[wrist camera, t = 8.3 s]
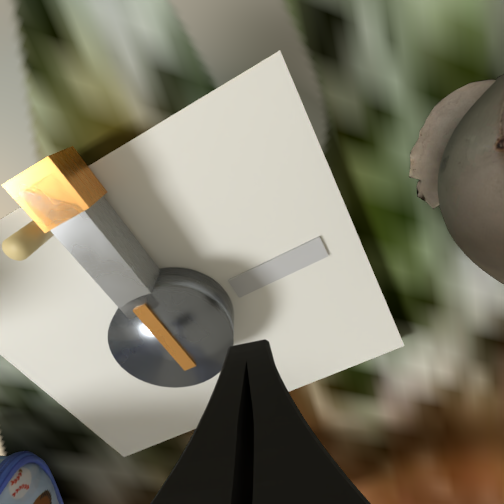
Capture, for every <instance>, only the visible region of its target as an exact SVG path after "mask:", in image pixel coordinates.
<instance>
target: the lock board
mask: <svg viewBox="0 0 504 504" xmlns="http://www.w3.org/2000/svg"><path fill="white" fill-rule="evenodd" d="M88 167H89V168H90V170H91V171H92V172H93V174H94V175H95V176H96V178H97V179H98V180H99V182H100V183H101V184H102V185H103V187H104V188H105V189H106V191H107V193H106V194H105V195H104V197H105V198H106V200H107V201H108V202H109V204H110V205H111V206H112V207H113V209H114V210H115V211H116V213H117V214H118V215H119V217H120V218H121V219H122V220H123V222H124V223H125V224H126V226H127V227H128V228H129V230H130V231H131V232H132V234H133V235H134V236H135V237H136V239H137V240H138V241H139V243H140V244H141V245H142V247H143V248H144V249H145V251H146V252H147V253H148V254H149V256H150V257H151V258H152V260H153V261H154V262H155V264H156V265H157V266H158V268H159V269H161V268H167V267H180V268H187V269H192V270H195V271H198V272H201V273H203V274H205V275H207V276H209V277H211V278H212V279H214V280H215V281H216V282H218V283H219V284H220V285H221V286H222V287H223V289H224V290H225V291H226V292H227V294H228V296H229V297H230V300H231V302H232V305H233V310H234V345H233V346H235V345H239V344H244V343H249V342H254V341H259V340H264V339H266V340H267V341H269V343H270V347H271V351H272V355H273V358H274V362H275V365H276V368H277V370H278V372H279V374H280V377H281V379H282V381H283V383H284V384H285V386H286V388H287V390H288V392H289V391H292V390H294V389H297V388H299V387H302V386H304V385H307V384H309V383H312V382H314V381H317V380H319V379H322V378H325V377H327V376H330V375H332V374H335V373H337V372H340V371H342V370H345V369H347V368H350V367H352V366H355V365H357V364H360V363H362V362H365V361H367V360H370V359H372V358H375V357H377V356H380V355H382V354H385V353H387V352H390V351H392V350H395V349H398V348H400V347H403V346H404V344H403V341H402V339H401V337H400V334H399V332H398V329H397V327H396V325H395V322H394V320H393V318H392V315H391V313H390V310H389V308H388V306H387V303H386V301H385V298H384V296H383V294H382V291H381V289H380V287H379V284H378V282H377V279H376V277H375V275H374V272H373V270H372V268H371V265H370V263H369V260H368V258H367V256H366V253H365V251H364V249H363V246H362V244H361V241H360V239H359V237H358V234H357V232H356V230H355V227H354V225H353V222H352V220H351V218H350V215H349V213H348V210H347V208H346V206H345V203H344V201H343V199H342V196H341V194H340V191H339V189H338V187H337V184H336V182H335V180H334V177H333V175H332V172H331V170H330V168H329V165H328V163H327V161H326V158H325V156H324V153H323V151H322V149H321V146H320V144H319V142H318V139H317V137H316V135H315V132H314V130H313V127H312V125H311V123H310V120H309V118H308V115H307V113H306V111H305V108H304V106H303V103H302V101H301V99H300V96H299V94H298V92H297V89H296V87H295V84H294V82H293V80H292V77H291V75H290V73H289V70H288V68H287V66H286V63H285V61H284V58H283V56H282V54H281V51H278V52H277V53H275V54H273V55H272V56H270V57H268V58H267V59H265V60H263V61H262V62H260V63H259V64H257V65H255V66H253V67H252V68H250V69H248V70H247V71H245V72H244V73H242V74H240V75H238V76H237V77H236V78H234V79H232V80H230V81H229V82H227V83H225V84H224V85H222V86H220V87H219V88H217V89H215V90H214V91H212V92H210V93H209V94H207V95H205V96H204V97H202V98H200V99H199V100H197V101H195V102H194V103H192V104H190V105H189V106H187V107H185V108H184V109H182V110H180V111H179V112H177V113H175V114H174V115H172V116H170V117H169V118H167V119H166V120H164V121H162V122H161V123H159V124H157V125H156V126H154V127H152V128H151V129H149V130H147V131H146V132H144V133H142V134H141V135H139V136H137V137H136V138H134V139H132V140H131V141H129V142H127V143H126V144H124V145H122V146H121V147H119V148H117V149H116V150H114V151H112V152H111V153H109V154H108V155H106V156H104V157H103V158H101V159H99V160H98V161H96V162H94V163H93V164H91V165H89V166H88ZM117 309H118V306H117V305H116V304H115V303H114V302H113V301H112V300H111V298H110V297H109V296H108V295H107V294H106V293H105V292H104V291H103V289H102V288H101V287H100V286H99V285H98V284H97V283H96V282H95V281H94V279H93V278H92V277H91V276H90V275H89V274H88V273H87V272H86V270H85V269H84V268H83V267H82V266H81V265H80V264H79V263H78V261H77V260H76V259H75V258H74V257H73V256H72V255H71V254H70V252H69V251H68V250H67V249H66V248H65V247H64V246H63V245H62V243H61V242H60V241H59V240H58V239H57V238H56V237H55V236H54V234H53V233H52V232H51V231H48V232H46V233H44V232H43V231H42V229H41V228H40V227H39V226H38V225H37V224H36V223H35V222H34V221H33V219H32V218H31V217H30V216H29V215H28V214H27V213H26V212H25V211H24V210H23V208H22V207H20V208H18V209H17V210H15V211H13V212H11V213H10V214H8V215H6V216H5V217H3V218H1V219H0V355H2V356H3V357H4V358H5V359H6V360H8V361H9V362H10V363H11V364H12V365H14V366H15V367H16V368H17V369H18V370H20V371H21V372H22V373H23V374H24V375H26V376H27V377H28V378H29V379H30V380H32V381H33V382H34V383H35V384H36V385H38V386H39V387H40V388H41V389H42V390H44V391H45V392H46V393H47V394H49V395H50V396H51V397H52V398H53V399H55V400H56V401H57V402H58V403H59V404H61V405H62V406H63V407H64V408H65V409H67V410H68V411H69V412H70V413H71V414H73V415H74V416H75V417H76V418H77V419H79V420H80V421H81V422H82V423H83V424H85V425H86V426H87V427H88V428H89V429H91V430H92V431H93V432H94V433H95V434H97V435H98V436H99V437H100V438H101V439H103V440H104V441H105V442H106V443H107V444H109V445H110V446H111V447H112V448H113V449H115V450H116V451H117V452H118V453H120V454H121V455H122V456H123V457H126V456H128V455H131V454H133V453H136V452H138V451H141V450H143V449H146V448H148V447H151V446H153V445H156V444H158V443H161V442H163V441H166V440H168V439H171V438H173V437H176V436H179V435H181V434H184V433H186V432H189V431H191V430H194V429H196V427H197V425H198V423H199V421H200V419H201V417H202V415H203V413H204V411H205V409H206V407H207V404H208V402H209V400H210V397H211V395H212V392H213V390H214V388H215V385H216V383H217V380H218V377H219V375H220V372H219V373H218V374H217V375H216V376H214V377H213V378H211V379H209V380H207V381H205V382H203V383H200V384H197V385H193V386H188V387H178V388H172V387H161V386H157V385H152V384H149V383H146V382H144V381H142V380H139V379H137V378H136V377H134V376H132V375H131V374H129V373H128V372H126V371H125V370H124V369H123V368H122V367H121V366H120V365H119V364H118V363H117V361H116V360H115V358H114V357H113V355H112V353H111V351H110V348H109V344H108V329H109V325H110V323H111V320H112V318H113V316H114V314H115V312H116V310H117Z"/></svg>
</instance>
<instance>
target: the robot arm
mask: <svg viewBox="0 0 504 504" xmlns="http://www.w3.org/2000/svg"><path fill="white" fill-rule="evenodd" d="M150 504H370V502H369V501H368V500H367V499H366V498H365V497H364V496H363V494H362V493H361V492H360V491H359V490H358V489H357V488H356V486H355V485H354V484H353V483H352V482H351V481H350V479H349V478H348V477H347V476H346V474H345V473H344V472H343V471H342V469H341V468H340V467H339V466H338V464H337V463H336V462H335V461H334V459H333V458H332V457H331V456H330V454H329V453H328V452H327V450H326V449H325V448H324V446H323V445H322V444H321V442H320V441H319V439H318V438H317V437H316V435H315V434H314V432H313V431H312V429H311V428H310V427H309V425H308V424H307V422H306V421H305V419H304V417H303V416H302V414H301V413H300V411H299V409H298V408H297V406H296V404H295V403H294V401H293V399H292V398H291V396H290V394H289V392H288V390H287V388H286V386H285V384H284V383H283V381H282V379H281V377H280V374H279V372H278V370H277V368H276V365H275V362H274V358H273V355H272V351H271V347H270V343H269V341H267V340H266V339H264V340H259V341H254V342H249V343H244V344H239V345H235V346H230V347H229V349H228V351H227V354H226V357H225V361H224V364H223V366H222V369H221V372H220V375H219V377H218V380H217V383H216V385H215V388H214V390H213V392H212V395H211V397H210V400H209V402H208V404H207V407H206V409H205V411H204V413H203V415H202V417H201V419H200V421H199V423H198V425H197V427H196V429H195V431H194V433H193V435H192V437H191V439H190V441H189V443H188V445H187V446H186V448H185V450H184V452H183V453H182V455H181V457H180V459H179V460H178V462H177V463H176V465H175V467H174V468H173V470H172V471H171V473H170V475H169V476H168V478H167V479H166V481H165V483H164V484H163V486H162V487H161V489H160V490H159V492H158V493H157V495H156V496H155V498H154V499H153V500H152V502H151V503H150Z"/></svg>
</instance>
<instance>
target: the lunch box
mask: <svg viewBox="0 0 504 504" xmlns="http://www.w3.org/2000/svg"><path fill="white" fill-rule="evenodd" d="M0 504H64V503H63V500H62V498H61V495H60V492H59V489H58V487H57V484H56V482H55V480H54V477H53V475H52V473H51V471H50V469H49V467H48V465H47V464H46V463H45V462H44V461H43V460H42V459H41V458H40V457H38V456H37V455H35V454H34V453H32V452H29V451H22V452H16V453H13V454H11V455H9V456H0Z"/></svg>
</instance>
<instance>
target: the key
mask: <svg viewBox="0 0 504 504" xmlns="http://www.w3.org/2000/svg"><path fill="white" fill-rule="evenodd" d="M2 186H3V187H4V188H5V190H6V191H7V192H8V193H9V194H10V195H11V196H12V197H13V198H14V199H15V201H16V202H17V203H18V204H19V205H20V206H21V207H22V208H23V210H24V211H25V212H26V213H27V214H28V215H29V216H30V217H31V218H32V219H33V221H34V222H35V223H36V224H37V225H38V226H39V227H40V228H41V229H42V231H43V232H44V233H46V232H48V231H51V232H52V233H53V234H54V236H55V237H56V238H57V239H58V240H59V241H60V242H61V243H62V245H63V246H64V247H65V248H66V249H67V250H68V251H69V252H70V254H71V255H72V256H73V257H74V258H75V259H76V260H77V261H78V263H79V264H80V265H81V266H82V267H83V268H84V269H85V270H86V272H87V273H88V274H89V275H90V276H91V277H92V278H93V279H94V281H95V282H96V283H97V284H98V285H99V286H100V287H101V288H102V289H103V291H104V292H105V293H106V294H107V295H108V296H109V297H110V298H111V300H112V301H113V302H114V303H115V304H116V305H117V306H118V309H117V310H116V312H115V314H114V316H113V318H112V320H111V323H110V325H109V329H108V344H109V348H110V351H111V353H112V355H113V357H114V358H115V360H116V361H117V363H118V364H119V365H120V366H121V367H122V368H123V369H124V370H125V371H126V372H128V373H129V374H131V375H132V376H134V377H136V378H137V379H139V380H142V381H144V382H146V383H149V384H152V385H157V386H161V387H172V388H178V387H188V386H193V385H197V384H200V383H203V382H205V381H207V380H209V379H211V378H213V377H214V376H216V375H217V374H218V373H219V372H221V369H222V366H223V364H224V361H225V357H226V354H227V351H228V349H229V347H230V346H233V345H234V310H233V305H232V302H231V300H230V297H229V296H228V294H227V292H226V291H225V290H224V289H223V287H222V286H221V285H220V284H219V283H218V282H216V281H215V280H214V279H212V278H211V277H209V276H207V275H205V274H203V273H201V272H198V271H195V270H192V269H187V268H180V267H167V268H161V269H159V268H158V266H157V265H156V264H155V262H154V261H153V260H152V258H151V257H150V256H149V254H148V253H147V252H146V251H145V249H144V248H143V247H142V245H141V244H140V243H139V241H138V240H137V239H136V237H135V236H134V235H133V234H132V232H131V231H130V230H129V228H128V227H127V226H126V224H125V223H124V222H123V220H122V219H121V218H120V217H119V215H118V214H117V213H116V211H115V210H114V209H113V207H112V206H111V205H110V204H109V202H108V201H107V200H106V198H105V197H104V195H105V194H106V193H107V191H106V189H105V188H104V187H103V185H102V184H101V183H100V182H99V180H98V179H97V178H96V176H95V175H94V174H93V172H92V171H91V170H90V168H89V167H88V166H87V164H86V163H85V162H84V160H83V159H82V158H81V156H80V155H79V154H78V152H77V151H76V150H75V148H74V147H73V146H72V147H69V148H67V149H65V150H62V151H60V152H57V153H55V154H52V155H50V156H48V157H46V158H44V159H43V160H41V161H40V162H38V163H36V164H35V165H33V166H31V167H30V168H28V169H27V170H25V171H24V172H22V173H20V174H19V175H17V176H16V177H14V178H12V179H11V180H9V181H7V182H6V183H4V184H3V185H2Z"/></svg>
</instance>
